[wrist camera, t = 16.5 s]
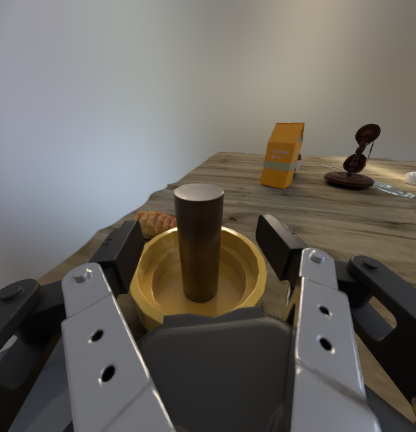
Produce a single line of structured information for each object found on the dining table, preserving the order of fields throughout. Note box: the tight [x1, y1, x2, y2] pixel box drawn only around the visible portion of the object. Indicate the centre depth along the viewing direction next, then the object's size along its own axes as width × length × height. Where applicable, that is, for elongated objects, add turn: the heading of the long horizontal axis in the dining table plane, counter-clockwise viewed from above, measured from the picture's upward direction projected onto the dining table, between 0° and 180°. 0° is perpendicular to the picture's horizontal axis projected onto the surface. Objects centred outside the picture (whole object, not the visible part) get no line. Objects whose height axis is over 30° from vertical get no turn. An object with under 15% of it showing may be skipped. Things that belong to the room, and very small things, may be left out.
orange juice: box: [261, 123, 304, 189], centre depth 55 cm, size 8×9×20 cm
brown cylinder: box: [174, 183, 224, 303], centre depth 17 cm, size 4×4×13 cm
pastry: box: [133, 211, 177, 239], centre depth 31 cm, size 9×7×4 cm
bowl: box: [130, 227, 267, 333], centre depth 19 cm, size 15×15×6 cm
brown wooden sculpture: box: [324, 124, 381, 190], centre depth 56 cm, size 15×15×20 cm
